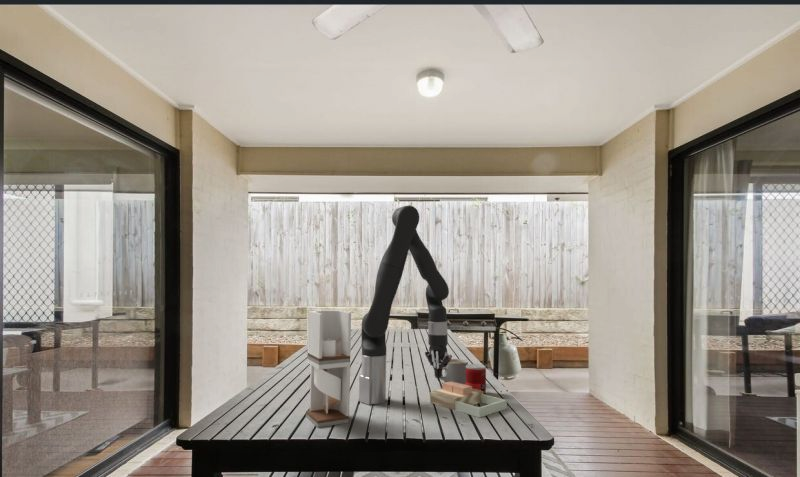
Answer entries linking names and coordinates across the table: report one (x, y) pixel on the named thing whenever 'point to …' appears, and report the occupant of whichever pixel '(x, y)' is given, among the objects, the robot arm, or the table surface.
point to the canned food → (476, 376)
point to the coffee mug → (455, 371)
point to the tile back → (449, 386)
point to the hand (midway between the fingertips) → (438, 377)
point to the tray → (493, 406)
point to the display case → (329, 367)
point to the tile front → (462, 389)
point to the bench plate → (454, 398)
